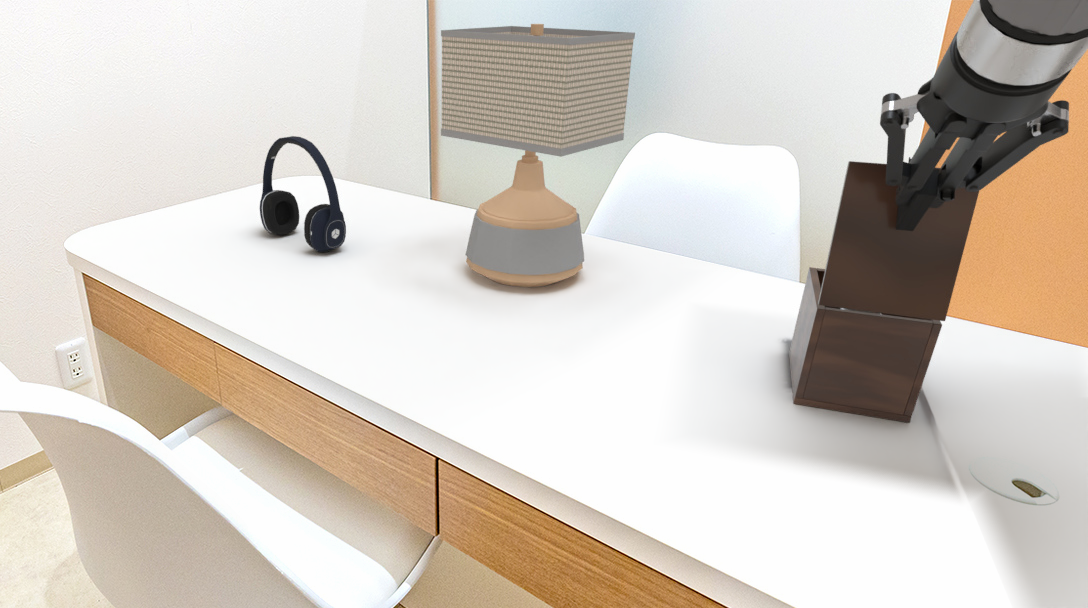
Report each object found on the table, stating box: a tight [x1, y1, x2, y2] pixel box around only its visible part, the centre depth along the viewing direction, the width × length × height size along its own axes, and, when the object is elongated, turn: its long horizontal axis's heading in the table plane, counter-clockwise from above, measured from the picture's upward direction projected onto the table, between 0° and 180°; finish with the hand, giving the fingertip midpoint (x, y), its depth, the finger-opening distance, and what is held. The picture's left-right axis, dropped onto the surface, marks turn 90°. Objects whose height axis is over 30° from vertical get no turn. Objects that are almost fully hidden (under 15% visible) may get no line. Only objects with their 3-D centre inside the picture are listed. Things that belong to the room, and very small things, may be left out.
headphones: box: [259, 135, 347, 253], centre depth 130 cm, size 20×7×18 cm, turn 46°
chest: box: [788, 266, 943, 424], centre depth 85 cm, size 14×12×12 cm
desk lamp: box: [440, 23, 636, 288], centre depth 113 cm, size 22×19×37 cm
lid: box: [818, 160, 980, 322], centre depth 75 cm, size 15×12×1 cm
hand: (905, 218), depth 73 cm, fingers closed
